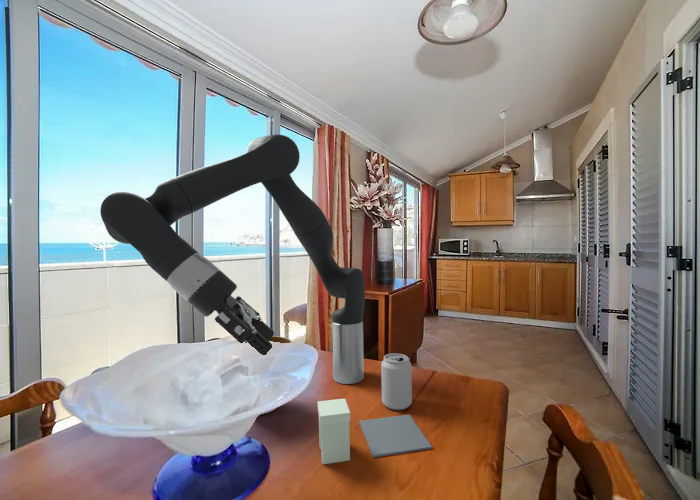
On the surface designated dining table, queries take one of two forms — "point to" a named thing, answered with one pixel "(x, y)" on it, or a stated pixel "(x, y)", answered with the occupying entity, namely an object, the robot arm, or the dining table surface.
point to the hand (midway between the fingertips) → (269, 343)
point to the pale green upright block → (334, 430)
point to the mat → (393, 435)
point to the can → (396, 381)
